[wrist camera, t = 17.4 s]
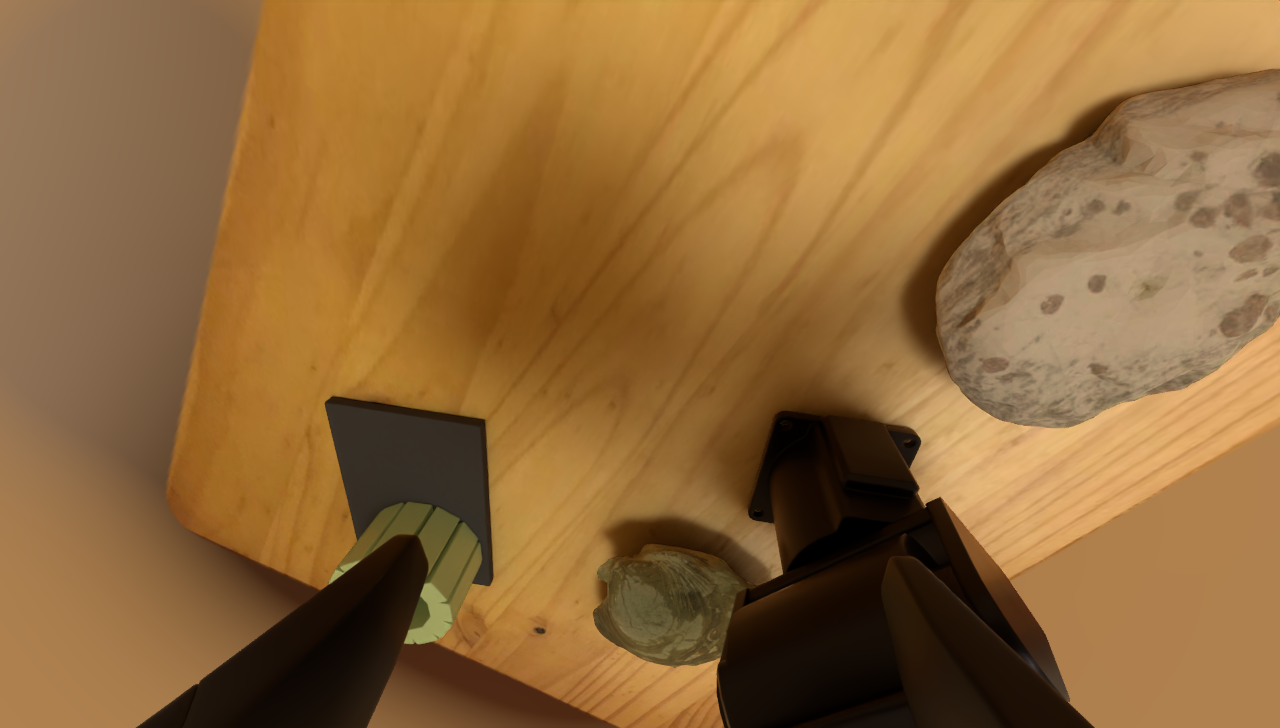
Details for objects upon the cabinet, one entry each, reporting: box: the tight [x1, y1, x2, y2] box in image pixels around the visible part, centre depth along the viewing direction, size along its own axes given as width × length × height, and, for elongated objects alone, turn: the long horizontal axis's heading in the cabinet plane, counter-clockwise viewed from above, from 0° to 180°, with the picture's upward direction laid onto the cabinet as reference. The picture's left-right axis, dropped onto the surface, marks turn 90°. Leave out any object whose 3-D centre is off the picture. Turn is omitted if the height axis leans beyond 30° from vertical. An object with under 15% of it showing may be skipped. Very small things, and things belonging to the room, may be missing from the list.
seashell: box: [593, 544, 757, 668], centre depth 27 cm, size 10×7×10 cm
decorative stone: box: [935, 69, 1280, 428], centre depth 16 cm, size 12×11×5 cm
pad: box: [325, 397, 493, 586], centre depth 28 cm, size 12×8×1 cm, turn 174°
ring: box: [328, 502, 482, 644], centre depth 27 cm, size 6×6×4 cm
